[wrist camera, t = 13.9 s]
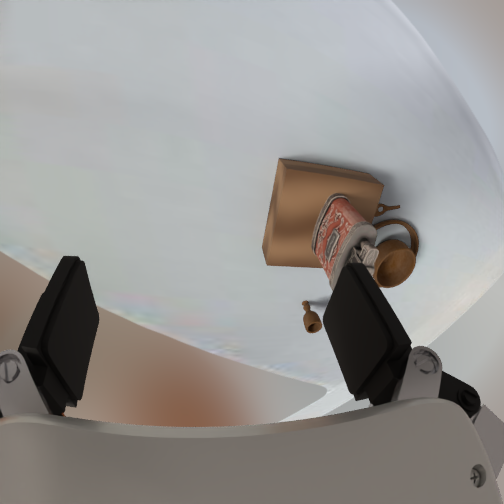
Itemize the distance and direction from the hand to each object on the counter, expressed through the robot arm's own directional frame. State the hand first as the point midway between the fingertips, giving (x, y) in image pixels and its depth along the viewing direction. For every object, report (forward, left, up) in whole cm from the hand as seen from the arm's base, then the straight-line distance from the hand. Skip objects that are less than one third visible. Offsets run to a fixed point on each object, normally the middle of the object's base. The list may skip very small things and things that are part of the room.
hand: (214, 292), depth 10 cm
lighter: (+7, +14, -21) cm, 26 cm away
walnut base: (+7, +14, -25) cm, 29 cm away
